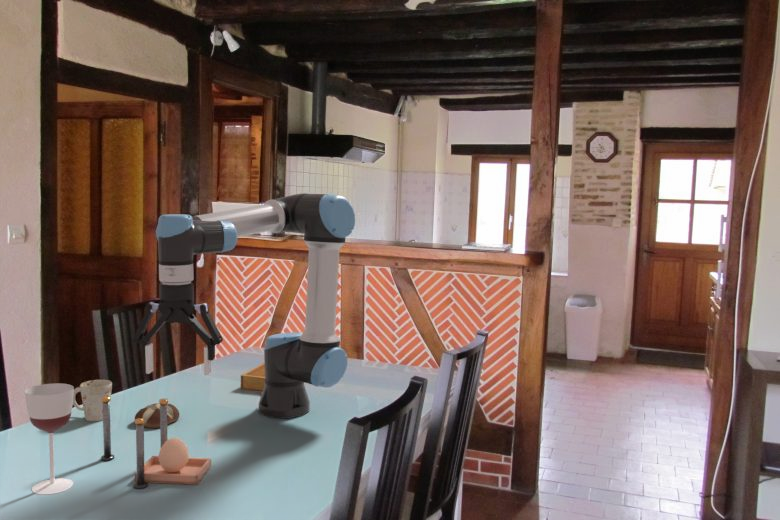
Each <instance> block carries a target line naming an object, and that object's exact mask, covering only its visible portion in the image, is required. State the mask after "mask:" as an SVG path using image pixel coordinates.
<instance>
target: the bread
mask: <svg viewBox="0 0 780 520" xmlns="http://www.w3.org/2000/svg"><path fill="white" fill-rule="evenodd" d="M137 418H144V419H145V423H144V428H149V429H160V404H159V402H157V403H151V404H148V405H147V406H145V407H144V408H140V409H139V410H138V411H137V412H136V414H135V415H134V420H135V419H137ZM179 418H180V411H179V409H178V408H177V407H176V406H175V405H173V404H172V403H167V426H168V425H169V424H172V423H174V422H177V421H178V420H179Z"/></svg>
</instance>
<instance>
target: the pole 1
mask: <svg viewBox="0 0 780 520" xmlns="http://www.w3.org/2000/svg"><path fill="white" fill-rule="evenodd" d="M101 399H102V403H103V420H102V427H103V428H102V431H103V437H102V438H103V455H102V456H101V457H100V460H101V462H110V461H114V459H115V455H114V454H112V438H111V437H112V436H111V435H112V433H111V398H110V396H105V397H102V398H101Z"/></svg>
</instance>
